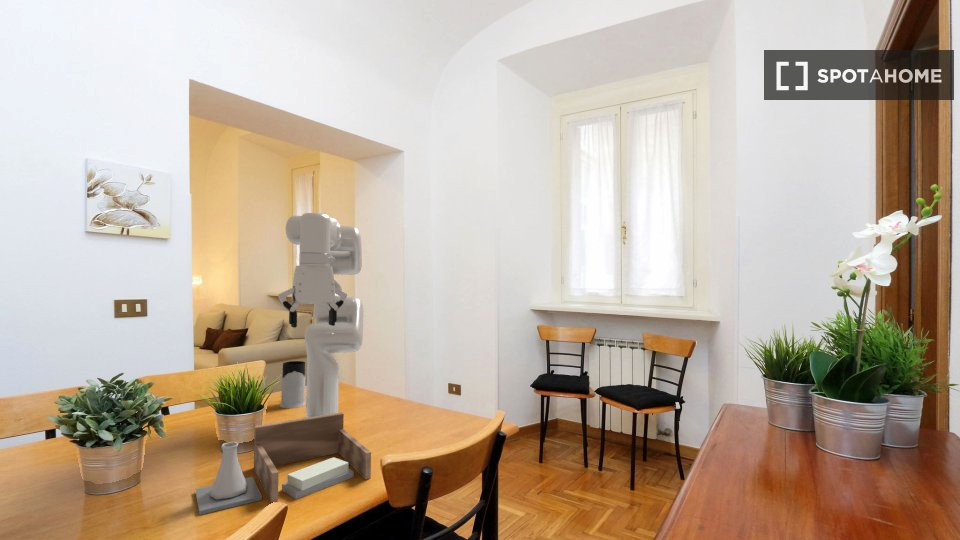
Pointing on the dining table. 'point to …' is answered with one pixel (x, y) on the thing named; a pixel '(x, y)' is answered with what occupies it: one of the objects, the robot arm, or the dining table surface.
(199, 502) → the slate coaster
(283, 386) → the glass holder
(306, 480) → the sage offcut
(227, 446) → the flask
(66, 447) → the dining table surface
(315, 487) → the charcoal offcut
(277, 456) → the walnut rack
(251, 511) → the dining table surface
